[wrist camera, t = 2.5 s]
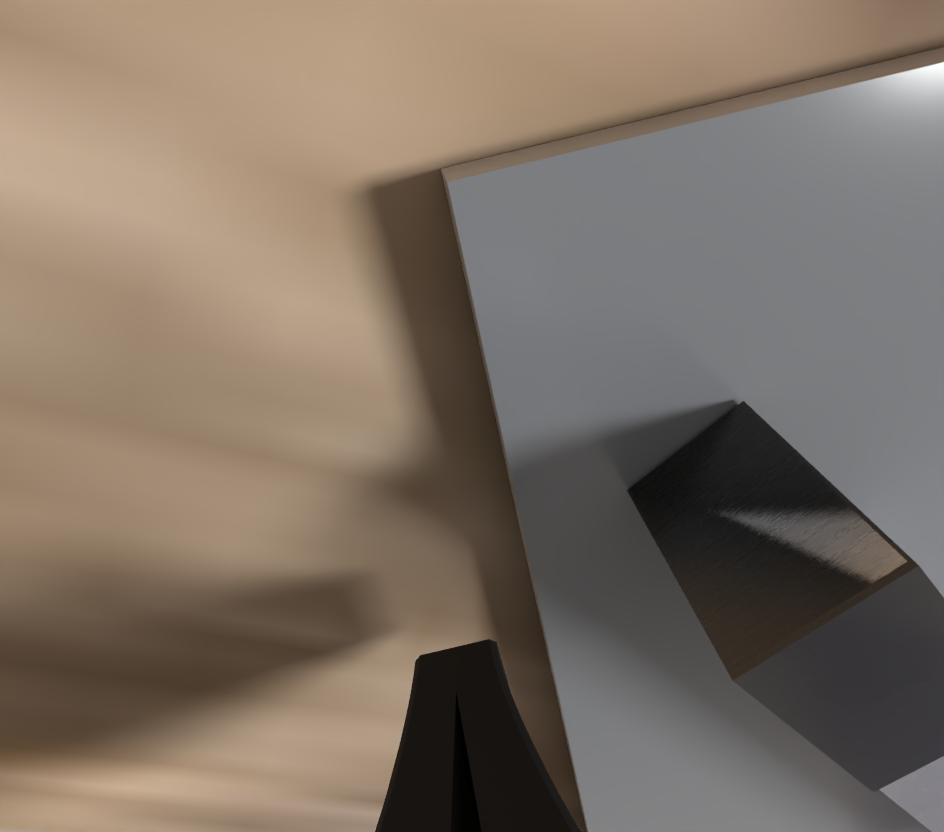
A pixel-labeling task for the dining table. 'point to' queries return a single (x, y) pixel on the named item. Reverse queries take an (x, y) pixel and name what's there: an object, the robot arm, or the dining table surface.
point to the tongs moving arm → (807, 604)
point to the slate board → (709, 401)
